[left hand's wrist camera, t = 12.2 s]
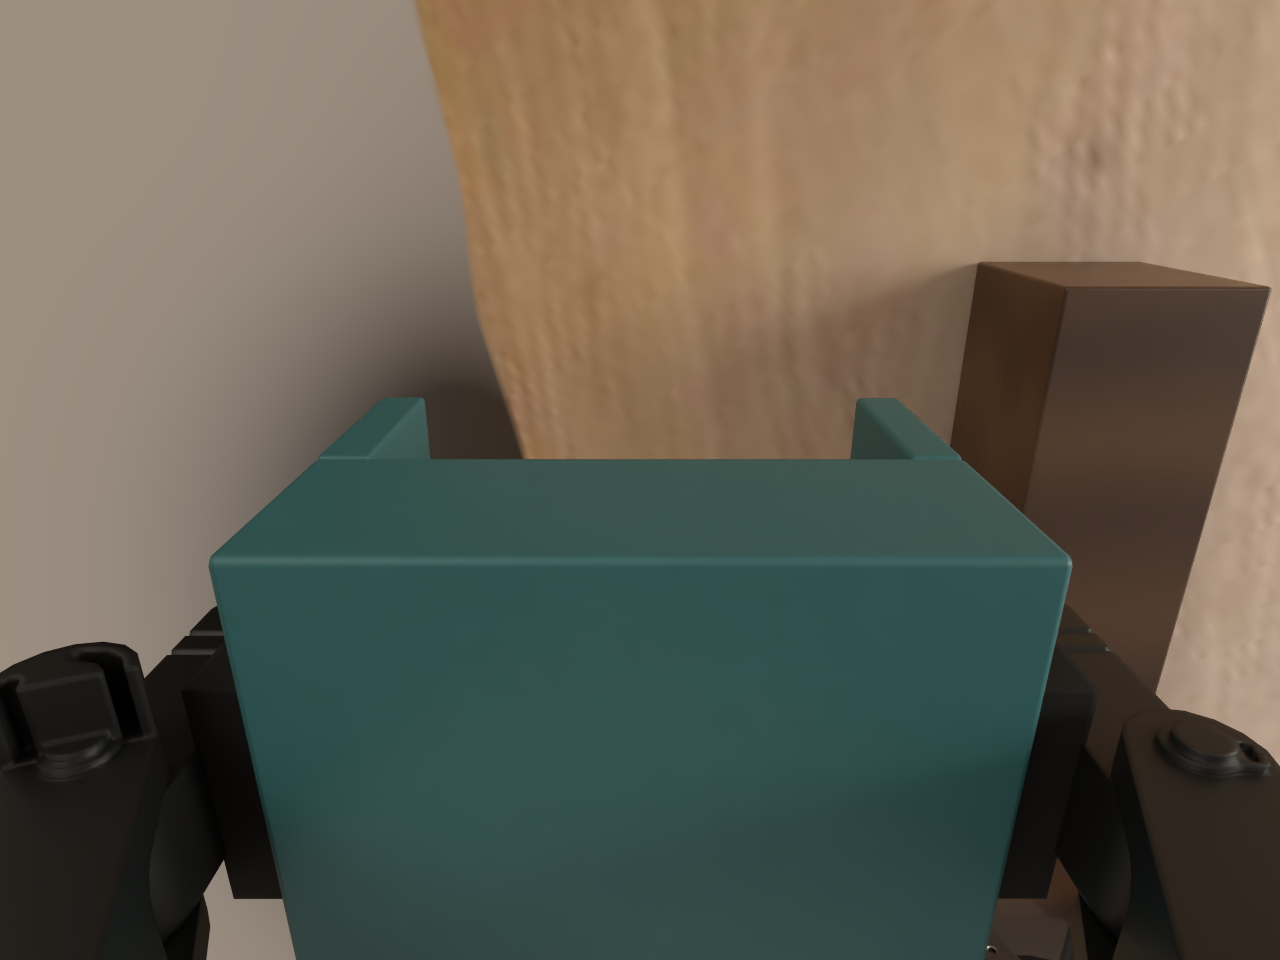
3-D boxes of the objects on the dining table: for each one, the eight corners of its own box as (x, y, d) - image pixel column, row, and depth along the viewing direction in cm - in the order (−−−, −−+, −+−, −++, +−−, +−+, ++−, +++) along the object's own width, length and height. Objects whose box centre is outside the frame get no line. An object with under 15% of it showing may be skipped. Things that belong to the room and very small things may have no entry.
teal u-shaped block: (382, 396, 11) (201, 558, 7) (898, 396, 11) (1078, 559, 7) (424, 739, 13) (310, 1042, 9) (855, 740, 13) (969, 1043, 9)
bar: (977, 261, 27) (1066, 286, 21) (1141, 262, 27) (1273, 287, 21) (887, 850, 36) (933, 975, 31) (1008, 850, 36) (1075, 975, 31)
